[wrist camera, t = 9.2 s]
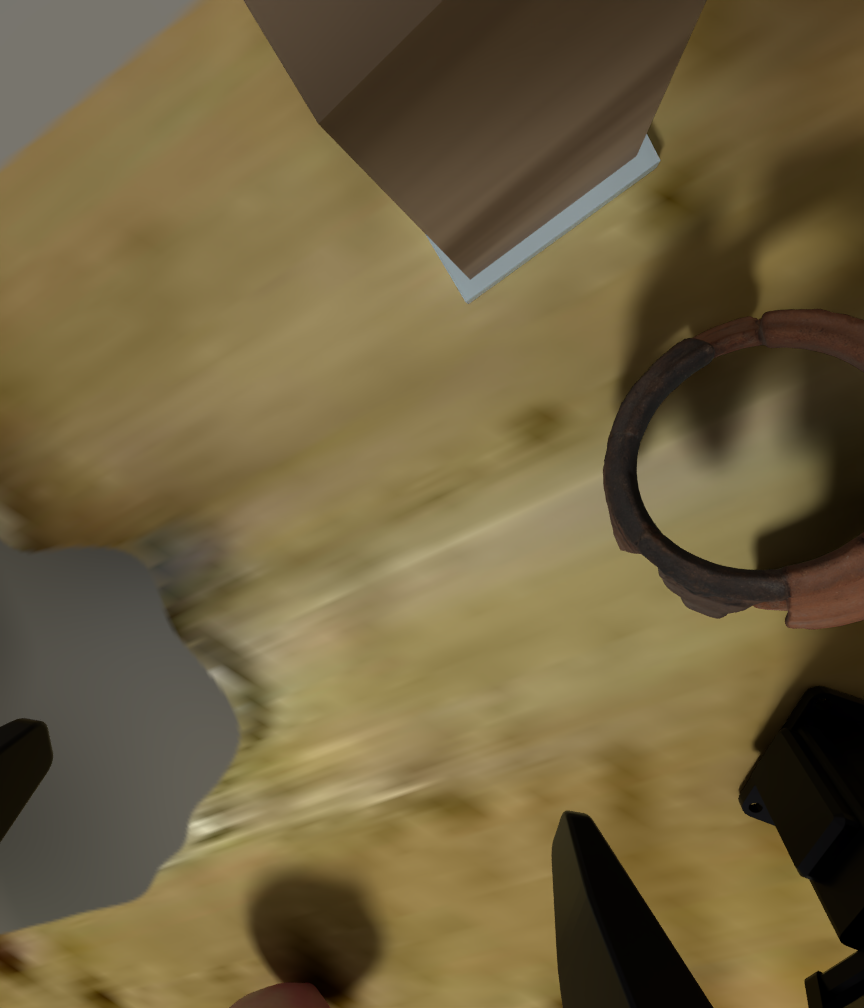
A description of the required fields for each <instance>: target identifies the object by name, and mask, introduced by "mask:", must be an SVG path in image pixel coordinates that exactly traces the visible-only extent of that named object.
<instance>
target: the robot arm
mask: <svg viewBox="0 0 864 1008" xmlns="http://www.w3.org/2000/svg"><path fill="white" fill-rule="evenodd" d="M823 698H824V699H826V700H825V701H824V702H822V703H817V701H818V700H820V699H823ZM52 761H53V751H52V746H51V742H50V736H49V731H48V727H47V725H46V724H45V723H44V722H42V721H38V720H32V719H26V718H21V719H16V720H14V721H12V722H9V723H7V724H5V725H3V726H1V727H0V842H1V841H2V839H3V838H4V836H5V835H6V833H7V832H8V830H9V829H10V827H11V826H12V824H13V823H14V821H15V820H16V818H17V817H18V815H19V814H20V812H21V811H22V809H23V808H24V806H25V805H26V803H27V802H28V800H29V799H30V798H31V796H32V794H33V793H34V791H35V790H36V789H37V787H38V785H39V784H40V782H41V781H42V780H43V778H44V777H45V775H46V774H47V772H48V770H49V768H50V766H51V764H52ZM738 799H739V803H740V805H741V808H742V810H743V811H744V813H745V814H747V815H748V816H750V817H753V818H756V819H758V820H761V821H764V822H766V823H769V824H772V825H774V826H776V828H777V830H778V832H779V834H780V837H781V839H782V841H783V843H784V845H785V847H786V849H787V851H788V853H789V855H790V857H791V859H792V861H793V863H794V865H795V867H796V869H797V871H798V873H799V874H800V875H801V876H802V877H805V878H807V879H809V880H810V882H811V884H812V886H813V888H814V890H815V892H816V894H817V896H818V898H819V900H820V902H821V904H822V906H823V908H824V910H825V912H826V914H827V916H828V918H829V920H830V922H831V924H832V926H833V928H834V930H835V932H836V933H837V935H838V937H839V939H840V941H841V943H843V944H844V945H846V946H848V947H851V948H853V949H856V950H858V951H856V952H855V953H853V954H852V955H850V956H849V957H847V958H845V959H844V960H842V961H841V962H839V963H838V964H836V965H835V966H833V967H831V968H830V969H828V970H827V971H825V972H824V973H822V972H820V971H817V972H815V973H814V974H812V975H811V976H809V977H808V978H806V979H805V988H806V994H807V1000H808V1006H809V1008H864V700H862V699H859V698H856V697H853V696H850V695H847V694H844V693H842V692H839V691H836V690H833V689H830V688H827V687H822V686H816V687H812V688H810V689H808V690H807V691H806V692H805V693H804V695H803V697H802V698H801V700H800V701H799V703H798V704H797V706H796V707H795V709H794V711H793V712H792V714H791V715H790V717H789V718H788V720H787V722H786V723H785V725H784V726H783V728H782V729H781V730H780V731H779V732H778V733H777V735H776V737H775V738H774V740H773V741H772V743H771V744H770V746H769V748H768V749H767V751H766V752H765V754H764V755H763V757H762V758H761V760H760V762H759V763H758V765H757V766H756V768H755V769H754V771H753V773H752V774H751V778H750V779H749V781H748V783H747V784H746V786H745V787H744V789H743V790H742V792H741V794H740V795H739V798H738ZM752 803H756V804H753V805H752ZM552 874H553V893H554V911H555V930H556V948H557V963H558V974H559V983H560V991H561V998H562V1005H563V1008H713V1006H712V1005H711V1003H710V1002H709V1000H708V999H707V997H706V996H705V994H704V992H703V991H702V989H701V988H700V986H699V985H698V983H697V982H696V980H695V978H694V977H693V975H692V974H691V972H690V971H689V969H688V968H687V966H686V964H685V963H684V961H683V960H682V958H681V957H680V955H679V954H678V952H677V950H676V949H675V947H674V946H673V944H672V943H671V941H670V940H669V938H668V936H667V935H666V933H665V932H664V930H663V929H662V927H661V926H660V924H659V922H658V921H657V919H656V918H655V916H654V915H653V913H652V912H651V910H650V908H649V907H648V905H647V904H646V902H645V901H644V899H643V898H642V896H641V894H640V893H639V891H638V890H637V888H636V887H635V885H634V884H633V882H632V880H631V879H630V877H629V876H628V874H627V873H626V871H625V870H624V868H623V866H622V865H621V863H620V862H619V860H618V859H617V857H616V855H615V854H614V852H613V851H612V849H611V848H610V846H609V845H608V843H607V841H606V840H605V838H604V837H603V835H602V834H601V832H600V831H599V829H598V827H597V826H596V824H595V823H594V821H593V820H592V818H591V817H590V816H588V815H587V814H585V813H580V812H574V811H565V812H563V814H562V816H561V819H560V822H559V825H558V828H557V831H556V834H555V837H554V840H553V844H552Z"/></svg>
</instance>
